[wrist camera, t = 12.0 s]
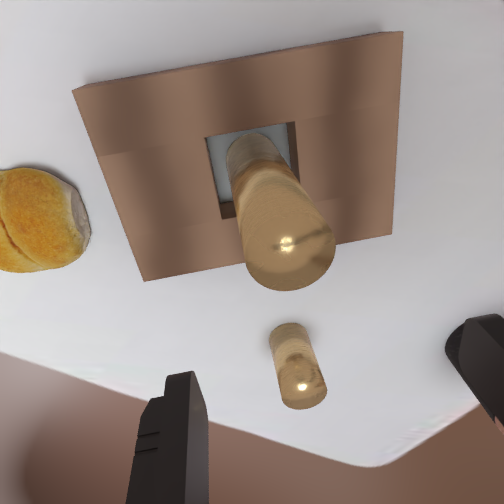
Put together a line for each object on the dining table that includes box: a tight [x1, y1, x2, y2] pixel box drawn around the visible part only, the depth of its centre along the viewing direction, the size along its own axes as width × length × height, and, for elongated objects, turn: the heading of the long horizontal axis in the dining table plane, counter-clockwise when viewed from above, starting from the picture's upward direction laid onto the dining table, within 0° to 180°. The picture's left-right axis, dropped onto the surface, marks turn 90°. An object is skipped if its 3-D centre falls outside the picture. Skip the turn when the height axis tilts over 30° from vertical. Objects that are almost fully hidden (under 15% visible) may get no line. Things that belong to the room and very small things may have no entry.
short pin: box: [269, 323, 327, 410], centre depth 35 cm, size 4×4×7 cm
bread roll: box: [0, 167, 90, 273], centre depth 27 cm, size 8×9×4 cm
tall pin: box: [226, 133, 336, 291], centre depth 22 cm, size 4×4×14 cm
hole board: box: [72, 31, 403, 282], centre depth 27 cm, size 20×14×3 cm
